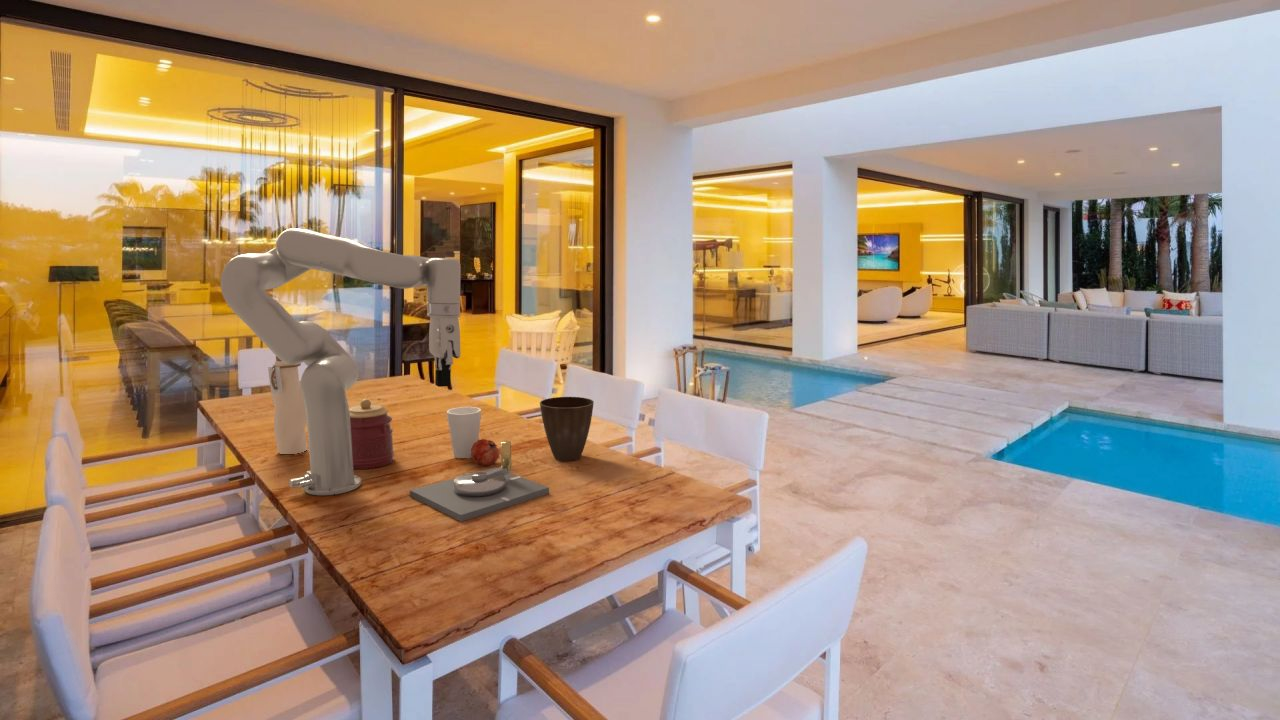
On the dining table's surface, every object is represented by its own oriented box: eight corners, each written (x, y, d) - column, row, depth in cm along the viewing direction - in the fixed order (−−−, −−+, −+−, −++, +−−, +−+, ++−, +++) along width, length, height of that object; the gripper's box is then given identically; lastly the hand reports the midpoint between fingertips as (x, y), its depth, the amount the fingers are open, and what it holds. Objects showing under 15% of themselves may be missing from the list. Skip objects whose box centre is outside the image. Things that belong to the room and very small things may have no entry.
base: (462, 522, 144) (461, 514, 144) (410, 496, 159) (409, 489, 159) (550, 493, 161) (550, 487, 161) (495, 472, 177) (495, 466, 176)
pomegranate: (467, 474, 182) (484, 458, 176) (460, 449, 185) (476, 433, 179) (491, 471, 187) (508, 456, 181) (483, 447, 190) (501, 431, 184)
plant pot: (535, 452, 195) (534, 398, 192) (585, 447, 200) (585, 394, 197) (547, 467, 181) (546, 409, 178) (600, 462, 186) (600, 405, 184)
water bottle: (298, 457, 189) (290, 358, 184) (266, 457, 189) (258, 358, 184) (316, 447, 199) (309, 353, 194) (286, 446, 199) (278, 352, 194)
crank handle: (478, 500, 152) (477, 461, 151) (442, 489, 159) (441, 452, 157) (528, 480, 165) (527, 444, 164) (492, 471, 172) (492, 437, 171)
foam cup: (462, 462, 185) (460, 416, 183) (441, 456, 191) (439, 411, 189) (489, 454, 193) (488, 409, 191) (468, 448, 198) (466, 405, 196)
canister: (404, 460, 187) (401, 397, 184) (364, 473, 176) (360, 406, 173) (373, 452, 193) (370, 392, 191) (332, 464, 182) (328, 400, 180)
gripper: (469, 313, 157) (468, 390, 160) (448, 307, 169) (448, 379, 172) (437, 313, 153) (437, 392, 156) (418, 307, 165) (418, 381, 168)
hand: (442, 385), depth 164 cm, fingers closed
